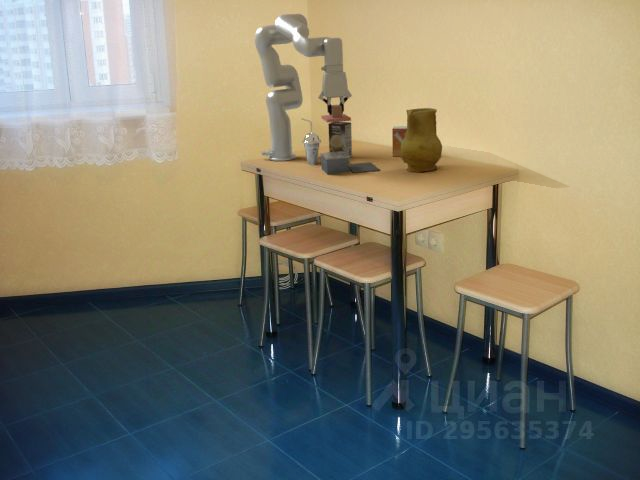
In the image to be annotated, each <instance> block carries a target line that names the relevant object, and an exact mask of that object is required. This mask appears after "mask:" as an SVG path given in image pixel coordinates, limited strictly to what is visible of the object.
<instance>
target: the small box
mask: <svg viewBox="0 0 640 480" xmlns="http://www.w3.org/2000/svg"><path fill="white" fill-rule="evenodd" d="M391 131H392V134H391V135H392V144H391V145H392V146H391V147H392V157H401V144H402V142H403V140H404V138H405V135H406V131H407V125H405V126H404V125H402V126H399V125H398V126H393V127H392V130H391Z"/></svg>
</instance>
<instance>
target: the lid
mask: <svg viewBox="0 0 640 480" xmlns="http://www.w3.org/2000/svg"><path fill="white" fill-rule="evenodd" d="M331 105H332V115H330V114H326V115H325V114H324V115H321V117H320V118H321V119H322V120H323V121H324V122H326V123H328V124H329V123H332V122H351V121H352V119H351V118H352V117H350V116H349V115H347V114H345V113H343V114H342V106H340V105H339V104H331Z"/></svg>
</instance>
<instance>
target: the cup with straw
mask: <svg viewBox="0 0 640 480" xmlns="http://www.w3.org/2000/svg"><path fill="white" fill-rule="evenodd" d="M301 120H302V121H305V122H308V123H309V127H310V132H309V133H306V134H305V136H304V137H303V139H302V142H301V143H302V144H303V146H304V149H305V154H306V156H305V157H306V161H307V165H313V166H314V165H318V164H319V162H318V161H319V150H320V143H322V141H321V139H320V138H319V137H320V136H319V135H318V134H317V133H315V132H313V123H312V121H311V120H309V119H306V118H301Z"/></svg>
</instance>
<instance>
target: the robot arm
mask: <svg viewBox="0 0 640 480" xmlns="http://www.w3.org/2000/svg"><path fill="white" fill-rule="evenodd" d="M309 35H310V29H309V26H308V20H307V18H306V16H304V15H303V14H301V13H287V14H281V15H279V16H278V17H277V18H276V19H275V22H274V24H269V25H263V26H261V27H259V28H257V30H256V32H255V34H254V45H255V48H256V51H257V54H258V56H259V59H260V63H261V68H262V72H263V77H264V82H265V84H266V86H267V87H269V88H280V87H285V88H281V89H276V90H272V91H269V92H268V94H267V95H266V97H265V103H266V107H267V111H268V117H269V129H270V142H271V143H270V144H271V145H270V146H271V148H270V150H267V151H263V150H262V151H261V156H265V157H267V156H268V160H270V161H275V162H279V161H280V162H283V161H291V160H294V159H296V158H297V156H296V154H295V153H293V142H292V127H291V126H292V125H291V119H290V117H289V115H288V113H287V111H289V110H295V109H299V108H300V107H301V106H302V104H303V102H304V101H303V99H304V97H303V93H302V89H301V88H302V87H301V82H300V77H299V73H298V71H297V69H296V68H295V66H293V65H292V64H281V60H280V55H279V53H278V51H277V50H276V49H275V48H274V47H273V45H285V44H290V43H292V44H293V47H294V49H295V51H297V53H299V54H301V55H303V56H304V57H306V58H316V57H317V58H318V57H324V59H323V60H324V65H323V66H321V71H324V72H323V74H322V87H321V88H322V89H321V92H320V94H319V95H318V99H319V100H321V101H322V102H324V103H325V104H326V105H327V107H326V108H327V114H328V115H332V105H333V104H331V101H332V98H334V99H335V98H339V104H338V105H340V106H342V114H344V112H345V103H346V102H347V101H348V100H349V99H350V98H351V97H353V95H352V93H351V92H350V91H349V88H348V87H349V86H348V79H347V74H346V71H344V58H343V56H344V55H343V40H342V38H340V37H328V36H323V37H319V36H318V37H309Z"/></svg>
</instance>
